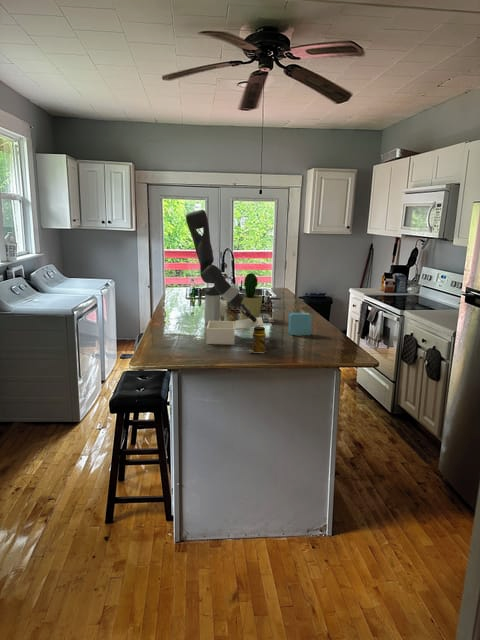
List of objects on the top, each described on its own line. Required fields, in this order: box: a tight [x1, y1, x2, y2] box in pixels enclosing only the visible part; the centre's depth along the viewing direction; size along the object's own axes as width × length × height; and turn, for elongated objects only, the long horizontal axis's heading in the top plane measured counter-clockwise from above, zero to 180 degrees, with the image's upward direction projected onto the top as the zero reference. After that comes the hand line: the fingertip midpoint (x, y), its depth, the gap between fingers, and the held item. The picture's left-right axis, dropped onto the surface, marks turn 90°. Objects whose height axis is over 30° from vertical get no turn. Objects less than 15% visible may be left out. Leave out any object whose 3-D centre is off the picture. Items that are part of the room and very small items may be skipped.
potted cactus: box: [239, 272, 264, 320], centre depth 283 cm, size 15×15×30 cm
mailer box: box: [206, 320, 236, 345], centre depth 234 cm, size 14×18×8 cm
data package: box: [288, 312, 313, 337], centre depth 248 cm, size 12×4×12 cm, turn 95°
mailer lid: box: [235, 316, 265, 331], centre depth 233 cm, size 14×18×1 cm
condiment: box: [251, 326, 266, 352], centre depth 213 cm, size 7×8×12 cm
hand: (255, 320), depth 232 cm, fingers closed
